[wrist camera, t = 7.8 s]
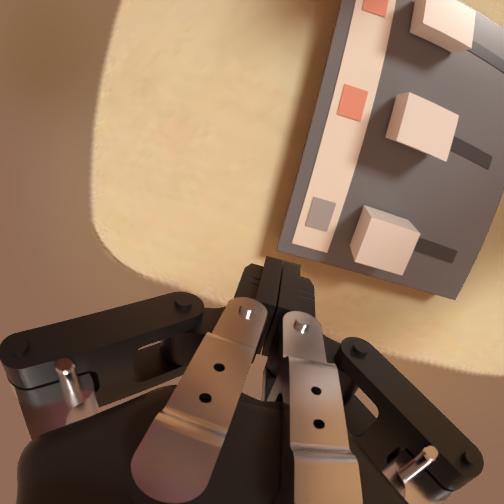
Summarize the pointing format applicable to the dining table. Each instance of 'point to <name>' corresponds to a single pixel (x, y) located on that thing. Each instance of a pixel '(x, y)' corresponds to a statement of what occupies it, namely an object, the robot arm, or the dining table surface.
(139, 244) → the dining table surface
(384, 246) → the tab
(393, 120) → the tab
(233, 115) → the dining table surface
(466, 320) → the dining table surface
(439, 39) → the white block
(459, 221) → the switch housing
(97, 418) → the robot arm
